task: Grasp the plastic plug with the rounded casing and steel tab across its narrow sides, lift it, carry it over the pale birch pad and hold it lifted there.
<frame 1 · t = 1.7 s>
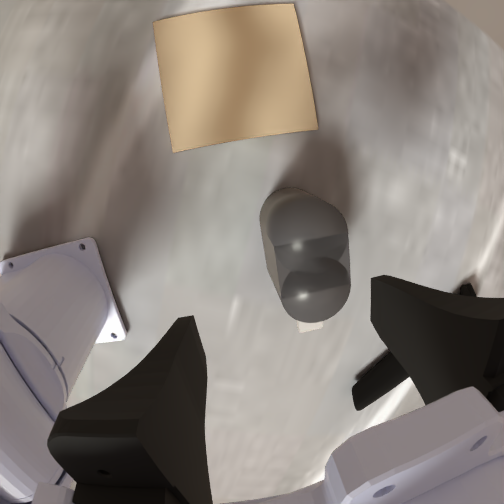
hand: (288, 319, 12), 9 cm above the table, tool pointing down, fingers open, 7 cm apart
electric trimmer: (415, 339, 26), on the table
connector: (292, 239, 21), on the table
pad: (234, 71, 17), on the table
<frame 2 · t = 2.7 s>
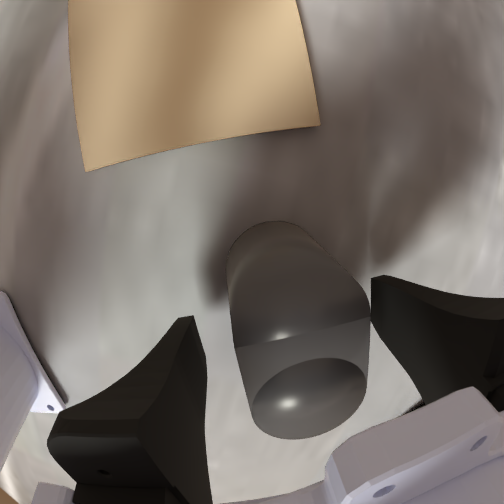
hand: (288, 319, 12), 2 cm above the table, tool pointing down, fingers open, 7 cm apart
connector: (278, 299, 14), on the table
pad: (182, 36, 10), on the table
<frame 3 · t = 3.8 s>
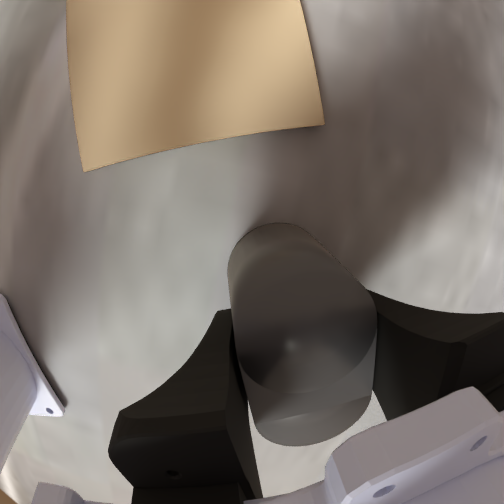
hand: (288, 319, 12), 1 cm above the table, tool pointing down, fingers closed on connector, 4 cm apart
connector: (281, 302, 13), on the table, touching gripper
pad: (183, 33, 9), on the table
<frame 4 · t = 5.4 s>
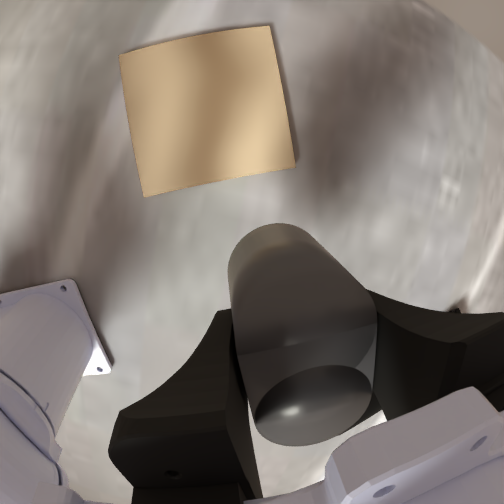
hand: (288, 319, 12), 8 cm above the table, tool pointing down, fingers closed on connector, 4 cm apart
electric trimmer: (399, 365, 25), on the table
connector: (281, 303, 13), point 7 cm above the table, touching gripper
pad: (205, 106, 17), on the table
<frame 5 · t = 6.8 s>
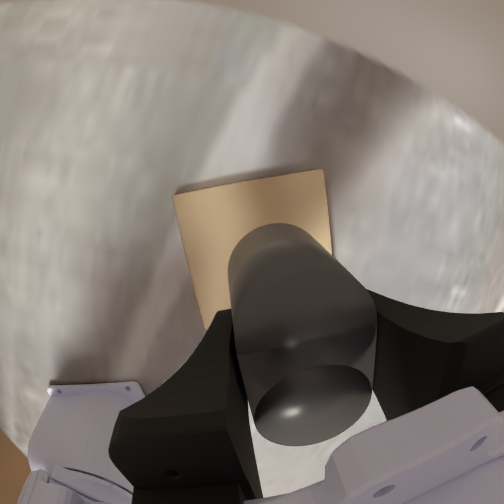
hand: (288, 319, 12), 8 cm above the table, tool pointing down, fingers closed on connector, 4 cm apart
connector: (281, 302, 13), point 7 cm above the table, touching gripper
pad: (259, 251, 20), on the table
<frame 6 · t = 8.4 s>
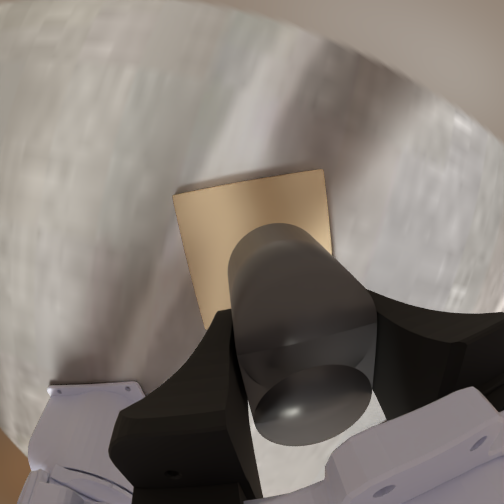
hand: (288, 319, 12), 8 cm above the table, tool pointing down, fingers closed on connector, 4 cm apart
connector: (281, 302, 13), point 7 cm above the table, touching gripper
pad: (259, 251, 20), on the table
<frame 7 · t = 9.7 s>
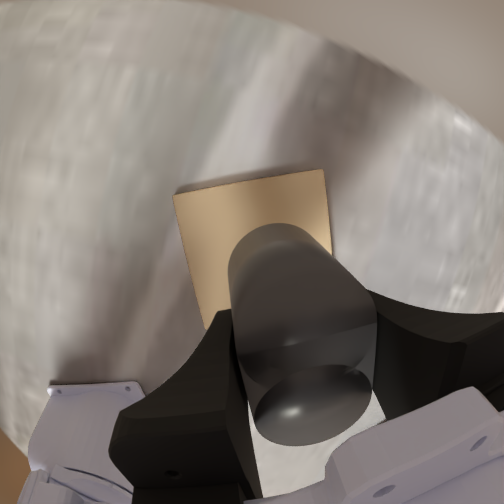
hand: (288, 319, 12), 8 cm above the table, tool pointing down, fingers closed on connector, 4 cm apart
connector: (281, 302, 13), point 7 cm above the table, touching gripper
pad: (259, 251, 20), on the table
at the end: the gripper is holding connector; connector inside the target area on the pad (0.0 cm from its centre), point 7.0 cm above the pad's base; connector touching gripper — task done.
